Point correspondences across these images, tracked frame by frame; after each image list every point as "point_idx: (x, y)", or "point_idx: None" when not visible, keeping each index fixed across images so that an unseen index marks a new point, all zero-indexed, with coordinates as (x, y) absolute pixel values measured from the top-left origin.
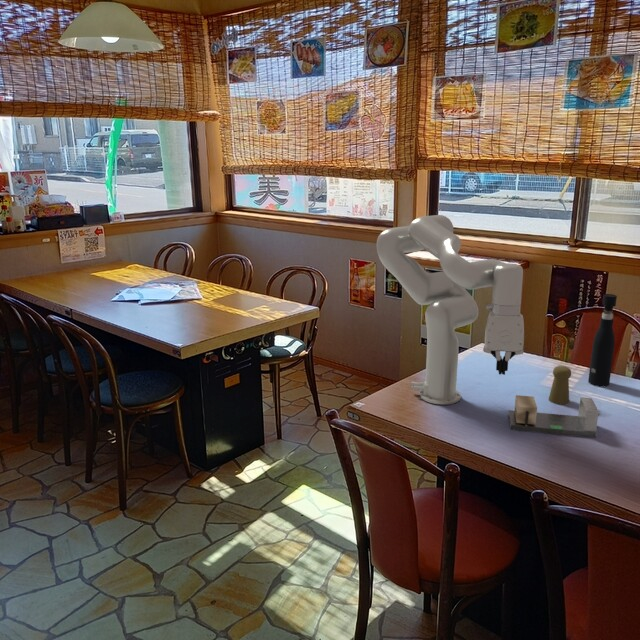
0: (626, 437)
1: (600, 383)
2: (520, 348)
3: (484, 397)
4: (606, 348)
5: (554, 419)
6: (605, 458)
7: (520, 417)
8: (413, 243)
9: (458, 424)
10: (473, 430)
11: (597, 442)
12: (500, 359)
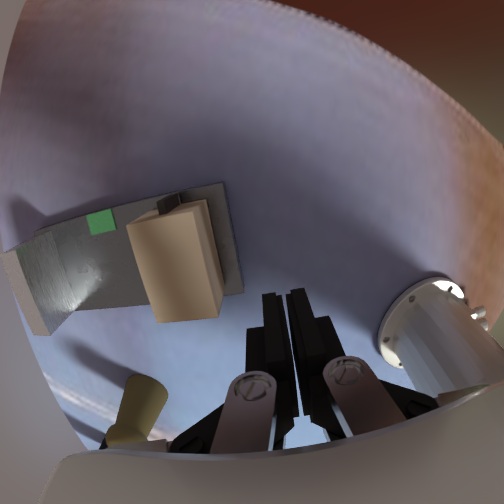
0: None
1: None
2: (62, 476)
3: None
4: None
5: (115, 273)
6: (23, 135)
7: (190, 204)
8: None
9: (380, 166)
10: (334, 137)
11: (36, 205)
12: (323, 371)
